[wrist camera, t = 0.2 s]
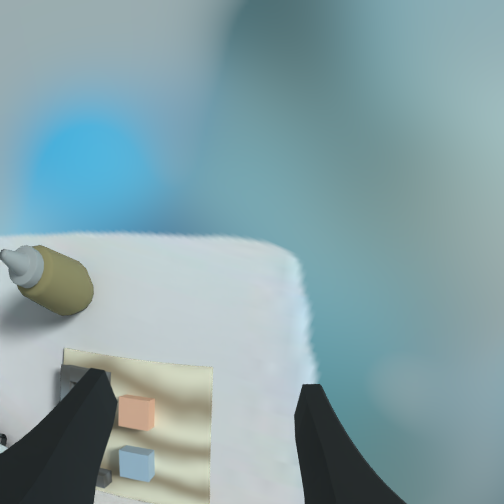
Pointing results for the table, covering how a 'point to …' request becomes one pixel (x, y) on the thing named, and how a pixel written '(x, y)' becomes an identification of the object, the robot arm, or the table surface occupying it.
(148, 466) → the slate-blue plug
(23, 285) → the squeeze bottle
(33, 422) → the table surface
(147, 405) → the peach square block
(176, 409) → the comb board
